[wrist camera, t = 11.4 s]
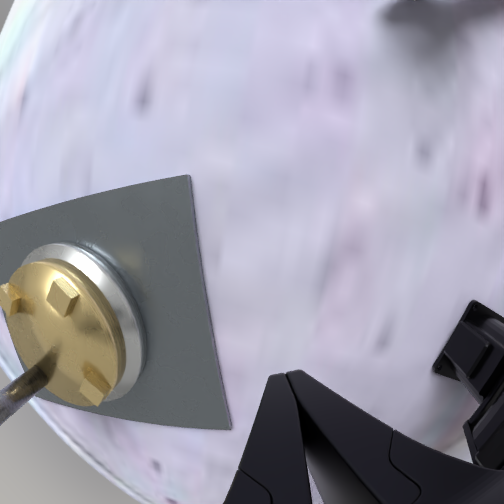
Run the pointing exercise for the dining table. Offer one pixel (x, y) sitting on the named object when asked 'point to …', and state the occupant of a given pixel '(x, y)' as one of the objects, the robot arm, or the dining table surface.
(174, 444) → the dining table surface
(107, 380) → the brass chuck with rod
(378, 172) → the dining table surface
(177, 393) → the gray metal base plate
